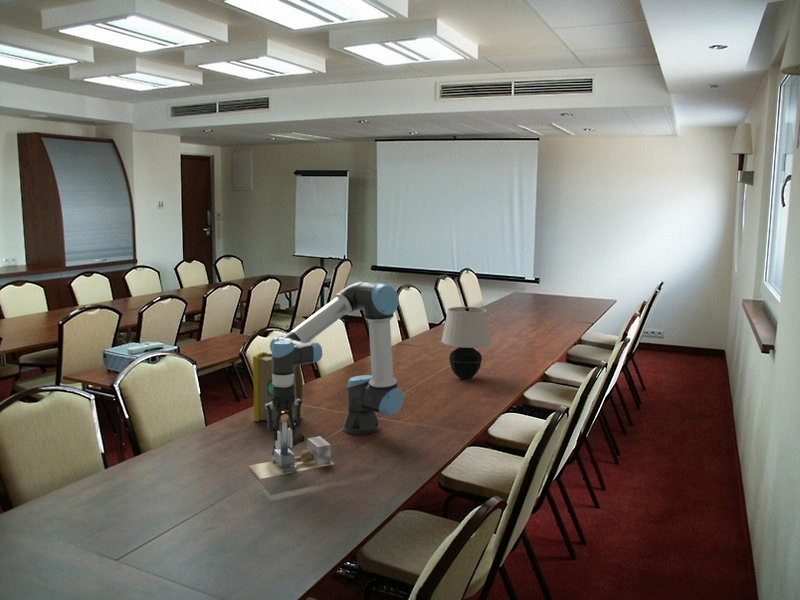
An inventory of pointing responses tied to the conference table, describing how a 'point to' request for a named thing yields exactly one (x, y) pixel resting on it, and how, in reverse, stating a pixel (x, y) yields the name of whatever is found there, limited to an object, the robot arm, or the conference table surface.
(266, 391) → the decorative book
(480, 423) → the conference table surface
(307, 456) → the brown ball
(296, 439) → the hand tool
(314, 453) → the knob lever base plate
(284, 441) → the ball-top joystick
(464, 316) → the table lamp
